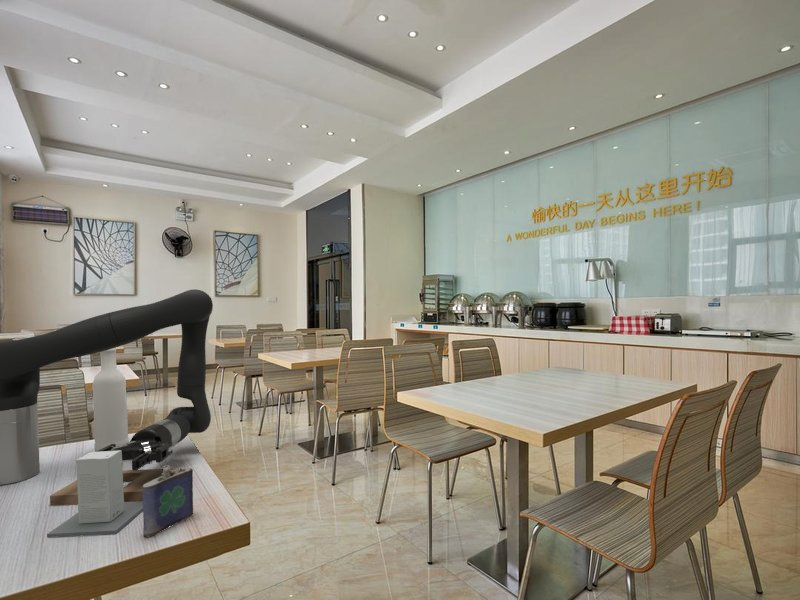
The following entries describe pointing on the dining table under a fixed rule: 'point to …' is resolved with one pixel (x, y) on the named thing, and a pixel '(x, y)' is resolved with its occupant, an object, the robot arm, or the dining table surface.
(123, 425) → the bottle
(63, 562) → the dining table surface
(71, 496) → the brown slab with opening
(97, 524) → the slate mat
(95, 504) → the skincare box
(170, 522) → the flask
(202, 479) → the dining table surface
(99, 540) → the dining table surface
